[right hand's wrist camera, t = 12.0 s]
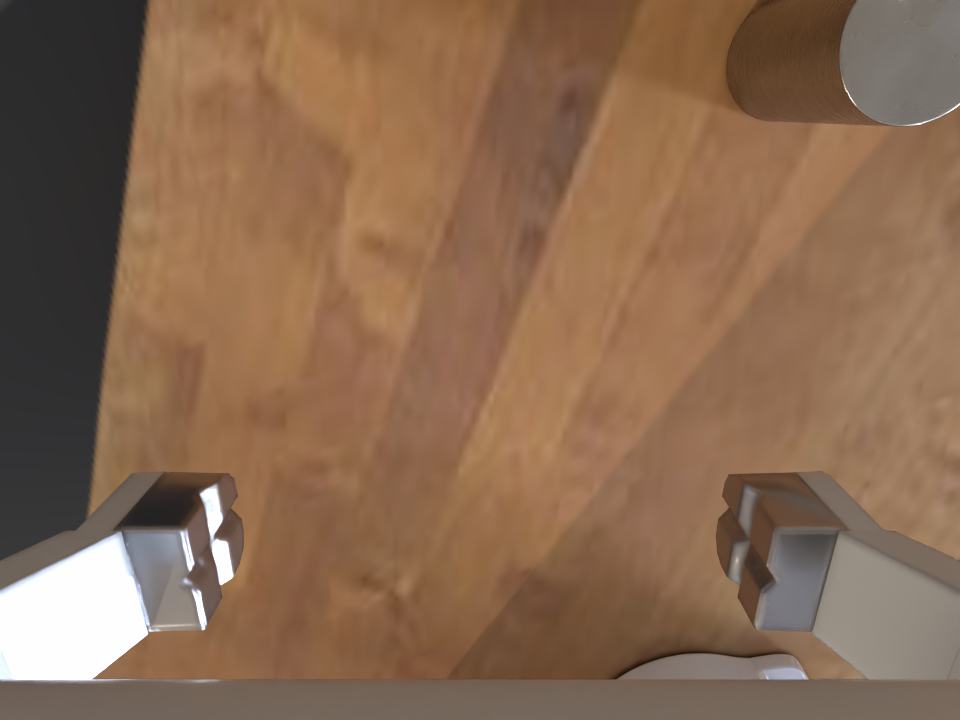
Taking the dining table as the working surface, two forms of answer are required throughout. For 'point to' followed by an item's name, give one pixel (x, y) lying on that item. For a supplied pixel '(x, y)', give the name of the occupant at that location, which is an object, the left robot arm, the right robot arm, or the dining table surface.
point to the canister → (848, 61)
